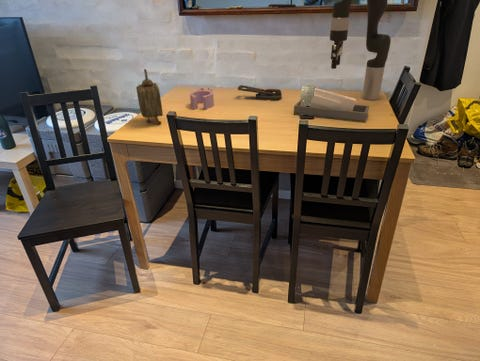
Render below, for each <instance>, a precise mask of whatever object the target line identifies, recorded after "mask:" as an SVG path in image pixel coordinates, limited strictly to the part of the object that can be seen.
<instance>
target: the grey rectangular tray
mask: <svg viewBox="0 0 480 361" xmlns="http://www.w3.org/2000/svg"><path fill="white" fill-rule="evenodd" d="M301 100H302V98H301V99H299V100H298V101H297V102H296V103H295V104H294V106H293V115H294V116H301V115H300V114H308V115H312V116H314V117H313V118H320V119H329V120H339V121H347V122H355V123H364V124H365V123H366V120H367V117H368V115H369V110H370V105H365V104H356V103H355V105H354V108H353V111H348V110H347V111H346V110H336V109H326V108H317V107H307V106H300V104H301Z"/></svg>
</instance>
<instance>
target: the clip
mask: <svg viewBox="0 0 480 361" xmlns="http://www.w3.org/2000/svg"><path fill="white" fill-rule="evenodd" d="M189 96H190V97H189V98H190V99H189V100H190V107H191V109H192V110H193V111H195V110H198V109H199V106H198V104H199V105H200V104H203V109H204V110H205V111H208V110H207V109H212V108H213V107H214V106H215V102H214V99H215V98H214V92H213V88H212V87H207V89H206V90H205V89H204V87H202V86H201V87H198V88H197V90H195V91H192V92H190V93H189Z"/></svg>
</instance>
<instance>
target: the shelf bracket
mask: <svg viewBox="0 0 480 361" xmlns="http://www.w3.org/2000/svg"><path fill="white" fill-rule="evenodd" d="M306 86H307V85H305V86H304V88H305V87H306ZM314 88H315V87H314ZM356 103H357V99H356V98H354V97H350V96H346V95H343V94H339V93H336V92H332V91H328V90H324V89H320V88H318V87H317V88H315V89H314V97H313V99H312V101H311V106H310V107H317V108H326V109H336V110H346V111H347V110H348V111H353V108H354V105H355V104H356ZM300 106H304V102H303V100H301V104H300Z"/></svg>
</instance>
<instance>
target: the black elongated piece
mask: <svg viewBox="0 0 480 361" xmlns="http://www.w3.org/2000/svg"><path fill="white" fill-rule="evenodd" d="M237 90H238V91H242V92H250V93H255V99H256V100H257V101H267V100H270V102H279V100H280V101H281V100H282V99H283V98H282V97H283V95H282V94H283V93H282V90H281V89H278V88H266V89H264V88H258V87H253V86H249V85H244V84H241V85H239V86H238V87H237Z"/></svg>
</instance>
